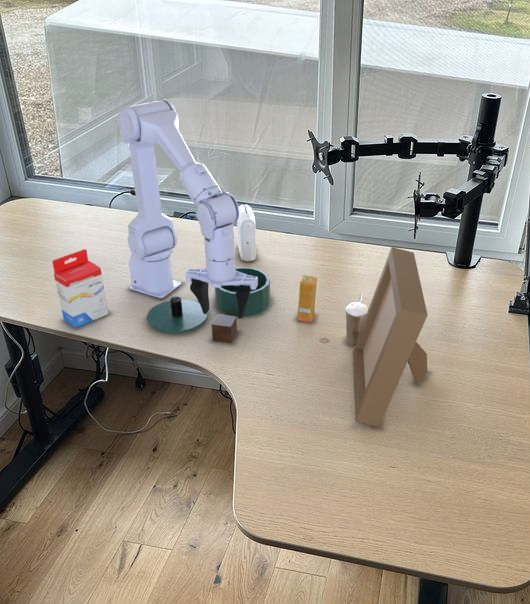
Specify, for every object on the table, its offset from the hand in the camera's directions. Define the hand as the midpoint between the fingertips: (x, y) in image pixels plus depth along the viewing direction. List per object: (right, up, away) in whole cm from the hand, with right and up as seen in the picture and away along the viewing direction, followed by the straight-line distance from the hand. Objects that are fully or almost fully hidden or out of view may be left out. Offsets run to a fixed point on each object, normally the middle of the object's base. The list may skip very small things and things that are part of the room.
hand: (223, 313), depth 137 cm
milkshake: (+28, -6, +4) cm, 28 cm away
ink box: (-31, 0, +9) cm, 33 cm away
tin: (+3, +4, +15) cm, 16 cm away
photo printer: (+2, +18, +36) cm, 40 cm away
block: (0, -5, +3) cm, 6 cm away
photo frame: (+34, -15, -10) cm, 38 cm away
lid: (-11, 0, +8) cm, 14 cm away
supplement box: (+17, -1, +10) cm, 20 cm away
